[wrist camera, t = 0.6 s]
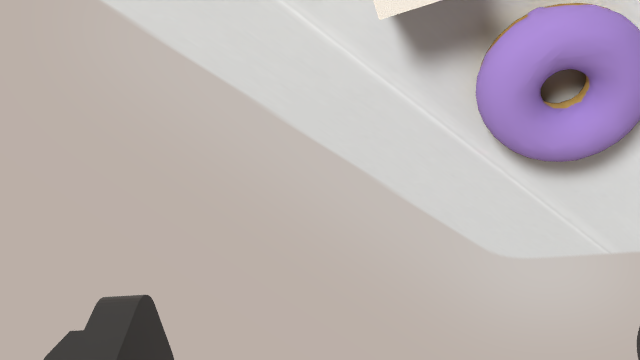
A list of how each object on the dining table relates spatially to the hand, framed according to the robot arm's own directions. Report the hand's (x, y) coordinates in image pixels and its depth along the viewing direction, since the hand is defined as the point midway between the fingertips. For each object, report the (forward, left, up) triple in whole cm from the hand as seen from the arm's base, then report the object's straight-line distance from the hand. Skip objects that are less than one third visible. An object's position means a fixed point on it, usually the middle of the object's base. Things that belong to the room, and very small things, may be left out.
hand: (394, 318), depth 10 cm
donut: (-8, +12, -27) cm, 31 cm away
